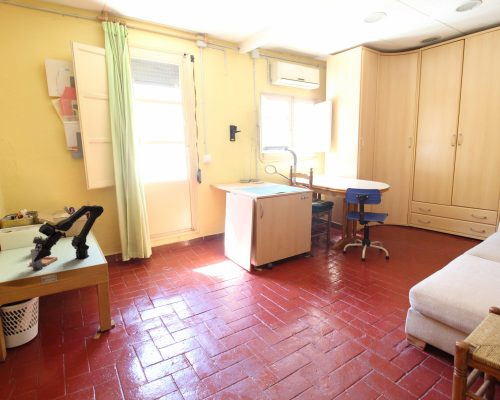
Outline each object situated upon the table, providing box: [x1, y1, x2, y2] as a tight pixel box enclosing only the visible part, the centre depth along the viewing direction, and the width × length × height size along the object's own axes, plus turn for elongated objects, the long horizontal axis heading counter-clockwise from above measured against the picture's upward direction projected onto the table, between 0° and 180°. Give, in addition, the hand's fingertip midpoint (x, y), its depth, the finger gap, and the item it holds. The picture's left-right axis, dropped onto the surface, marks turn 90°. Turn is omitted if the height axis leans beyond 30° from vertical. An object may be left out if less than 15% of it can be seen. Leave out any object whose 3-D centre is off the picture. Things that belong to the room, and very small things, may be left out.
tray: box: [28, 256, 59, 267], centre depth 195 cm, size 11×11×2 cm
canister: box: [29, 248, 44, 272], centre depth 183 cm, size 5×5×13 cm
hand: (33, 259), depth 183 cm, fingers open, 7 cm apart
